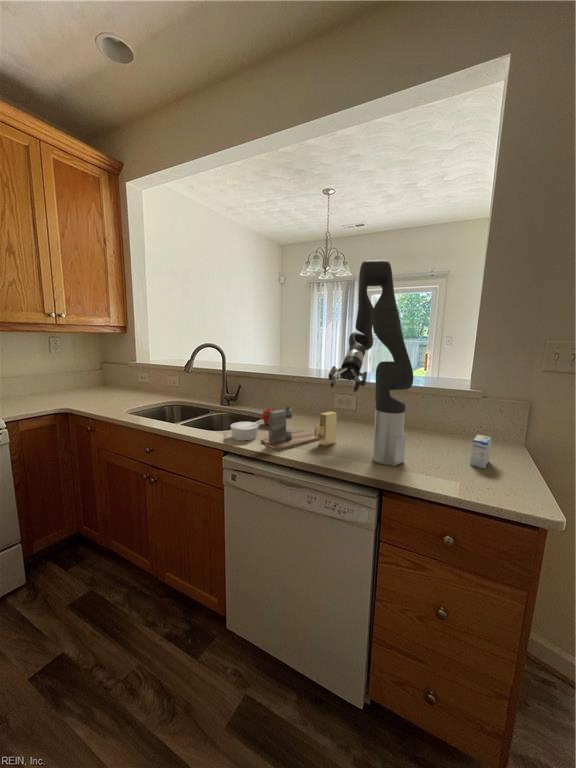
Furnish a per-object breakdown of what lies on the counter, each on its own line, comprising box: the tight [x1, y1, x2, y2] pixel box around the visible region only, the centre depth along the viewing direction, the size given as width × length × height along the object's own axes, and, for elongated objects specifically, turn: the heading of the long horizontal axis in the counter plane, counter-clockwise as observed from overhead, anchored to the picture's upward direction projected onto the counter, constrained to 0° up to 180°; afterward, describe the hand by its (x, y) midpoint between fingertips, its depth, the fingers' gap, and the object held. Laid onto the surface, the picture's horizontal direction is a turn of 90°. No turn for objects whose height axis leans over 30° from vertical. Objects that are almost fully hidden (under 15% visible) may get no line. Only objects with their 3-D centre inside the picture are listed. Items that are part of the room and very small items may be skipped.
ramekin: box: [230, 421, 259, 441], centre depth 128 cm, size 11×11×5 cm
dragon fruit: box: [260, 407, 276, 426], centre depth 146 cm, size 8×8×12 cm
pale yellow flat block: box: [313, 411, 338, 447], centre depth 121 cm, size 3×10×12 cm, turn 131°
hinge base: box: [260, 405, 320, 451], centre depth 124 cm, size 12×22×14 cm, turn 131°
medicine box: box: [469, 434, 493, 469], centre depth 105 cm, size 8×4×9 cm, turn 141°
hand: (343, 388), depth 119 cm, fingers open, 8 cm apart
